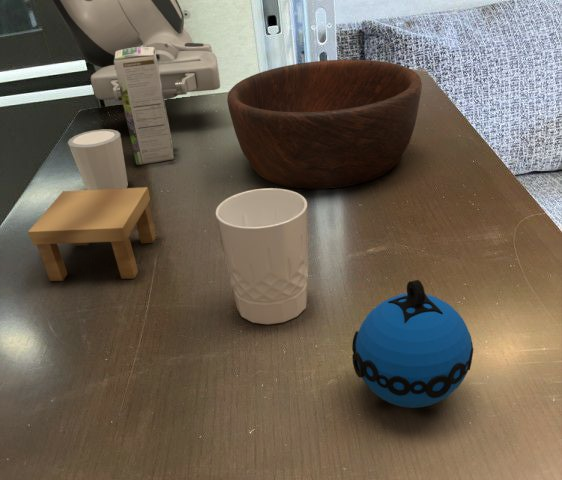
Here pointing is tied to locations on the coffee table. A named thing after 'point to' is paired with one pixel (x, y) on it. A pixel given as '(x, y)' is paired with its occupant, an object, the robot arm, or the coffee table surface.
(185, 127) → the coffee table surface
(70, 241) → the stand
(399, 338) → the ornament
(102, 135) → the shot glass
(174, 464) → the coffee table surface
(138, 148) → the syrup box
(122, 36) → the robot arm
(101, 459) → the coffee table surface
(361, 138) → the wooden bowl
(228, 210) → the white cup
